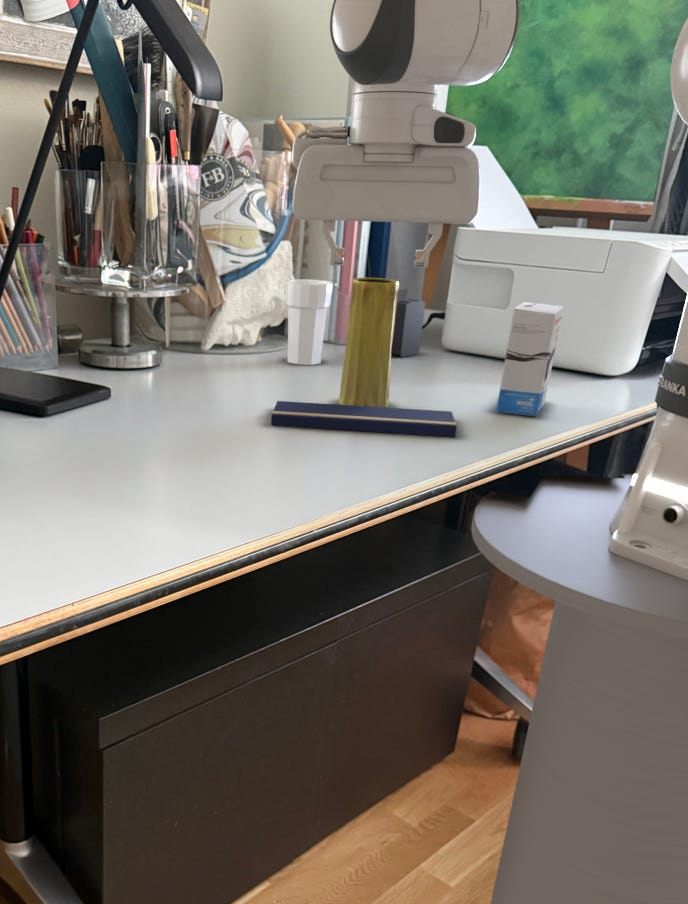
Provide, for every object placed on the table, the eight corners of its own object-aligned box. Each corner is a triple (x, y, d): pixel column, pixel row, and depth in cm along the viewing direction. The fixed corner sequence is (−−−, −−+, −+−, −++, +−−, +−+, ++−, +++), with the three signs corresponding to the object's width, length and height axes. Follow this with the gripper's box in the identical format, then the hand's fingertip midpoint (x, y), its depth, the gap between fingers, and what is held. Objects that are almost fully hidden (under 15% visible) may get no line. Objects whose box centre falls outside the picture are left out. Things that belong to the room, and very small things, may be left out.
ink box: (537, 418, 110) (557, 312, 104) (494, 412, 111) (511, 308, 106) (546, 403, 117) (565, 304, 111) (505, 398, 118) (522, 300, 113)
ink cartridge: (407, 351, 147) (413, 298, 143) (419, 354, 146) (425, 299, 142) (388, 355, 144) (394, 300, 140) (400, 357, 142) (406, 302, 139)
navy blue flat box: (450, 421, 107) (452, 410, 106) (455, 437, 101) (457, 425, 100) (276, 410, 109) (277, 399, 109) (271, 425, 103) (271, 413, 103)
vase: (377, 413, 109) (392, 284, 103) (329, 406, 112) (340, 280, 106) (395, 404, 114) (410, 279, 108) (349, 397, 117) (360, 275, 110)
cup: (291, 355, 141) (296, 278, 136) (332, 360, 139) (339, 281, 134) (274, 362, 136) (278, 282, 131) (316, 367, 134) (323, 286, 129)
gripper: (291, 124, 98) (284, 265, 104) (491, 126, 95) (472, 271, 102) (296, 127, 104) (289, 261, 110) (484, 129, 101) (466, 266, 107)
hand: (378, 266), depth 106 cm, fingers open, 8 cm apart
